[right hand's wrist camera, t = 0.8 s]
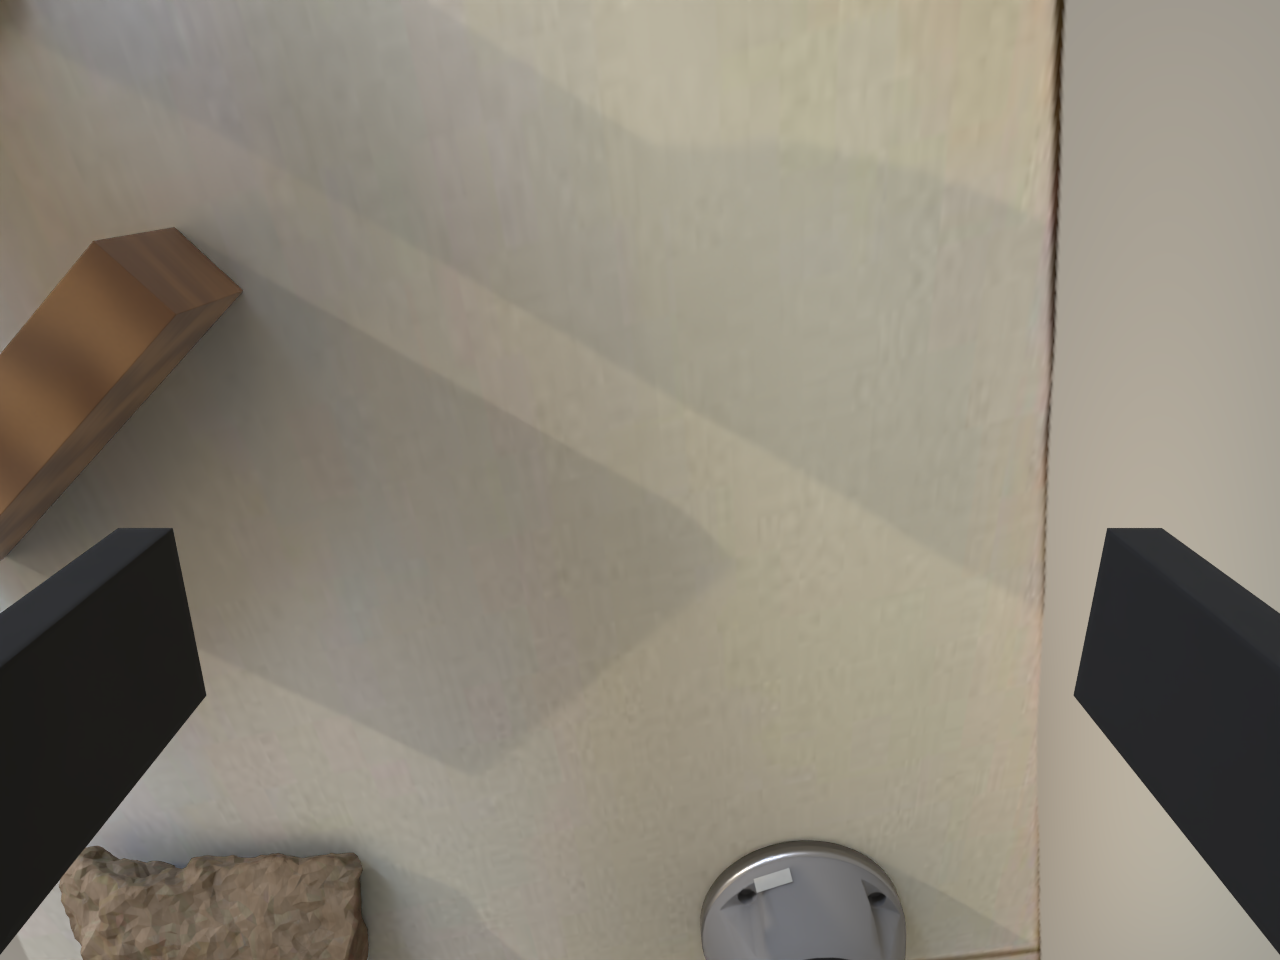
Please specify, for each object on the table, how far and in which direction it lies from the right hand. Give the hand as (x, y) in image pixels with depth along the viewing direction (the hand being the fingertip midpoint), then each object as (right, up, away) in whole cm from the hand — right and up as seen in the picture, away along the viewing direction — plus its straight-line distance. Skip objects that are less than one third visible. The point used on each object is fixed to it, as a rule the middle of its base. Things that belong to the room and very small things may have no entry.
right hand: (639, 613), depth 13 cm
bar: (-34, +7, +41) cm, 53 cm away
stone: (-31, -30, +55) cm, 70 cm away
